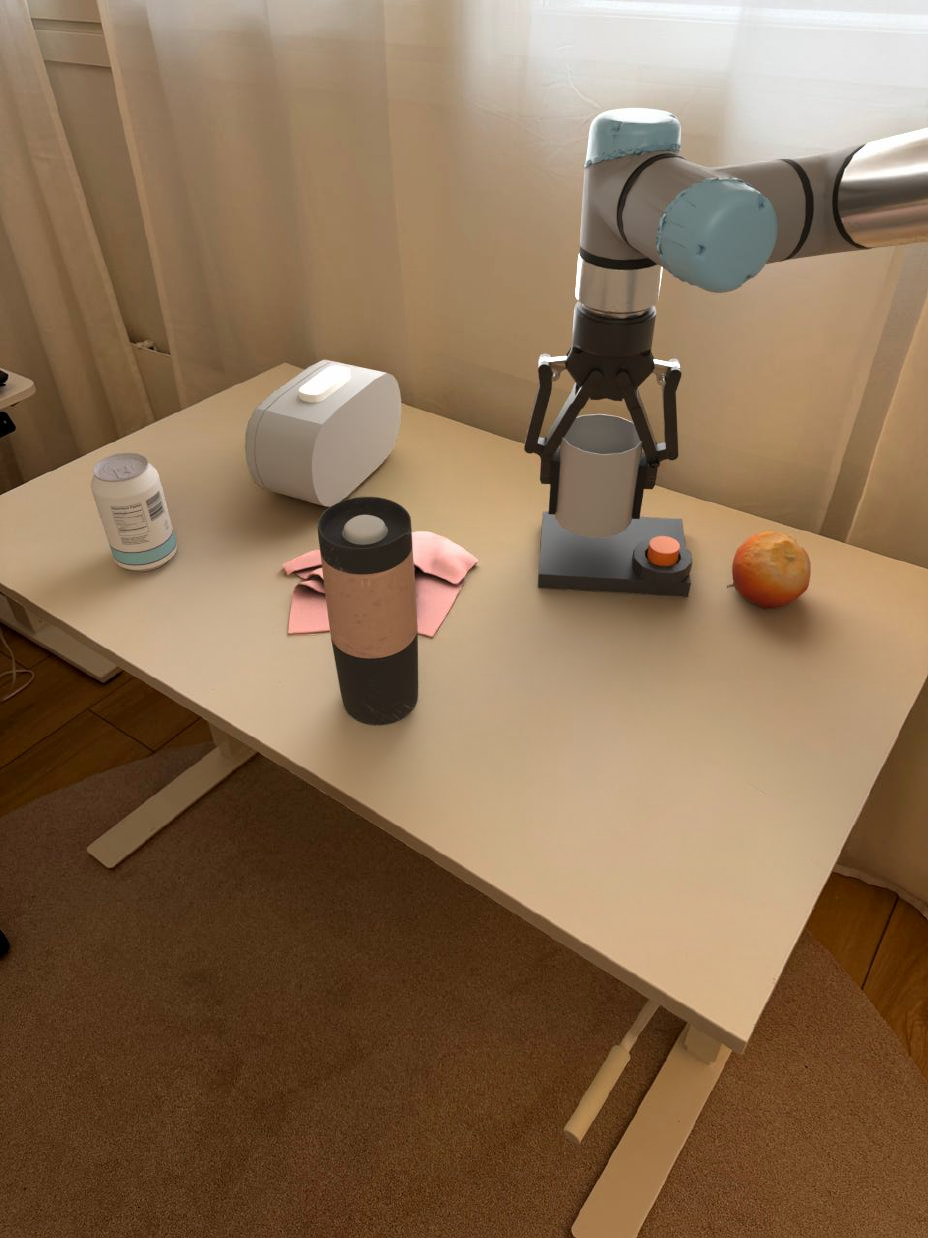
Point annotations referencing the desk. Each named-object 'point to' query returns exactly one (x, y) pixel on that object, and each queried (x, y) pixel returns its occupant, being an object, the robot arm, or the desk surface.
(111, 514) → the beverage can
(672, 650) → the desk surface
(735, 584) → the fruit
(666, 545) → the button
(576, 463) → the cup
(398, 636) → the travel mug
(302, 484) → the alarm clock
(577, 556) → the scale
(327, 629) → the cloth
